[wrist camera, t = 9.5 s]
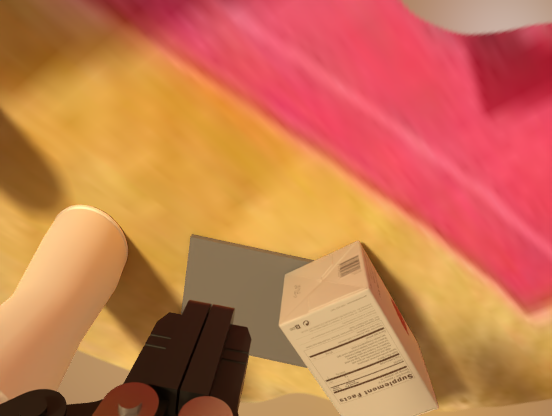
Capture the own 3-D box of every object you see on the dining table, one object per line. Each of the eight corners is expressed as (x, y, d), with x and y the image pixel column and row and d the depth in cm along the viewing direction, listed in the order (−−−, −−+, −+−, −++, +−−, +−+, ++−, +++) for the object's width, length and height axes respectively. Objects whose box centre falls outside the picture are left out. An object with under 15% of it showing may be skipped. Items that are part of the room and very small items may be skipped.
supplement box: (359, 237, 43) (419, 342, 47) (283, 272, 45) (347, 370, 50) (371, 287, 34) (442, 410, 39) (276, 328, 37) (354, 439, 41)
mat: (376, 273, 45) (377, 276, 44) (343, 371, 50) (343, 375, 50) (192, 234, 45) (190, 236, 44) (179, 336, 51) (178, 339, 50)
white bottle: (164, 259, 47) (14, 483, 24) (111, 313, 50) (-62, 553, 27) (77, 189, 44) (-183, 363, 21) (28, 252, 48) (-238, 457, 25)
